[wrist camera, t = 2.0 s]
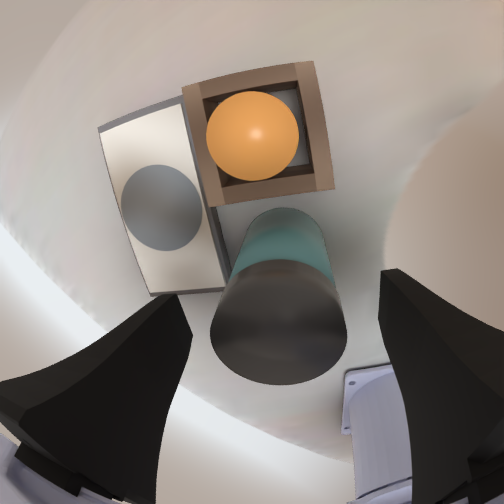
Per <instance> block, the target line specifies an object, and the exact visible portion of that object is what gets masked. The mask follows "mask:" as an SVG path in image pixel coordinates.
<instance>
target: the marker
mask: <svg viewBox="0 0 504 504" xmlns="http://www.w3.org/2000/svg"><path fill="white" fill-rule="evenodd" d="M210 338H211V343H212V347H213V349H214V351H215V353H216V355H217V356H218V358H219V359H220V360H221V361H222V362H223V363H224V364H225V365H226V366H227V367H228V368H229V369H231V370H232V371H233V372H235V373H236V374H238V375H240V376H242V377H244V378H246V379H249V380H252V381H255V382H259V383H263V384H269V385H292V384H298V383H302V382H306V381H309V380H312V379H314V378H316V377H318V376H320V375H322V374H324V373H325V372H327V371H328V370H329V369H331V368H332V367H333V366H334V365H335V364H336V363H337V362H338V360H339V359H340V357H341V356H342V354H343V352H344V350H345V347H346V343H347V329H346V324H345V320H344V315H343V311H342V306H341V302H340V298H339V294H338V292H337V290H336V287H335V282H334V278H333V274H332V270H331V266H330V262H329V258H328V254H327V250H326V246H325V243H324V239H323V235H322V232H321V230H320V228H319V226H318V225H317V223H316V222H315V221H314V220H313V219H312V218H311V217H310V216H309V215H307V214H305V213H304V212H302V211H299V210H296V209H292V208H276V209H272V210H269V211H266V212H264V213H262V214H261V215H260V216H258V217H257V218H256V219H255V220H254V221H253V222H252V223H251V225H250V227H249V228H248V231H247V233H246V236H245V238H244V241H243V244H242V246H241V249H240V252H239V255H238V257H237V260H236V263H235V265H234V268H233V271H232V273H231V276H230V279H229V282H228V284H227V285H226V287H225V289H224V291H223V294H222V296H221V299H220V302H219V304H218V307H217V310H216V312H215V315H214V318H213V320H212V324H211V328H210Z"/></svg>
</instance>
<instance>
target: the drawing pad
mask: <svg viewBox="0 0 504 504" xmlns="http://www.w3.org/2000/svg"><path fill="white" fill-rule="evenodd" d="M98 132H99V136H100V141H101V145H102V149H103V153H104V158H105V161H106V165H107V169H108V173H109V177H110V180H111V184H112V187H113V191H114V194H115V198H116V201H117V204H118V208H119V211H120V214H121V217H122V220H123V223H124V226H125V229H126V232H127V235H128V238H129V241H130V244H131V247H132V249H133V252H134V255H135V258H136V260H137V263H138V266H139V268H140V271H141V274H142V276H143V279H144V281H145V284H146V286H147V289H148V291H149V294H150V296H151V297H154V296H160V295H162V294H171V293H177V295H183V294H196V293H209V292H220V291H224V289H225V287H226V285H227V284H228V282H229V279H230V276H231V273H232V271H231V267H230V263H229V259H228V255H227V251H226V247H225V243H224V239H223V235H222V231H221V227H220V223H219V219H218V215H217V211H216V207H209V206H208V202H207V198H206V194H205V190H204V186H203V182H202V178H201V173H200V169H199V165H198V161H197V156H196V152H195V148H194V143H193V139H192V134H191V130H190V125H189V121H188V116H187V112H186V107H185V102H184V97H183V95H181V96H178V97H175V98H172V99H169V100H166V101H163V102H160V103H157V104H154V105H151V106H148V107H146V108H143V109H140V110H138V111H135V112H133V113H130V114H128V115H125V116H123V117H120V118H118V119H115V120H113V121H111V122H109V123H106V124H104V125H102V126H100V127H98Z"/></svg>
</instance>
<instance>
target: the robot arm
mask: <svg viewBox="0 0 504 504" xmlns="http://www.w3.org/2000/svg"><path fill="white" fill-rule="evenodd" d="M378 321H379V325H380V329H381V333H382V338H383V342H384V345H385V348H386V350H387V353H388V356H389V359H390V362H391V365H385V366H380V367H374V368H368V369H362V370H355V371H350V372H348V373H347V374H346V375H345V385H344V400H343V413H342V424H341V434H343V435H348V434H352V445H353V458H354V472H355V492H356V500H354V501H350V502H347V504H504V332H503V331H501V330H499V329H496V328H494V327H492V326H490V325H487V324H486V323H484V322H482V321H480V320H478V319H476V318H474V317H472V316H470V315H468V314H467V313H465V312H463V311H461V310H460V309H458V308H457V307H455V306H453V305H451V304H450V303H448V302H447V301H445V300H444V299H442V298H441V297H439V296H438V295H436V294H435V293H433V292H432V291H430V290H429V289H427V288H426V287H425V286H423V285H421V284H420V283H419V282H417V281H416V280H415V279H413V278H412V277H410V276H409V275H407V274H406V273H404V272H403V271H401V270H399V269H390V270H383V271H381V278H380V298H379V312H378ZM192 338H193V334H192V331H191V329H190V327H189V324H188V322H187V319H186V317H185V314H184V312H183V309H182V307H181V304H180V301H179V299H178V296H177V293H171V294H162V295H160V296H158V297H157V298H155V299H154V300H152V301H151V302H149V303H148V304H146V305H145V306H144V307H142V308H141V309H140V310H138V311H137V312H136V313H134V314H133V315H132V316H130V317H129V318H128V319H126V320H125V321H124V322H122V323H121V324H120V325H118V326H117V327H116V328H114V329H113V330H111V331H110V332H109V333H107V334H106V335H104V336H103V337H101V338H100V339H99V340H97V341H96V342H94V343H92V344H91V345H89V346H88V347H86V348H85V349H83V350H81V351H79V352H77V353H76V354H74V355H72V356H70V357H68V358H66V359H64V360H62V361H60V362H58V363H56V364H54V365H51V366H49V367H47V368H44V369H42V370H39V371H36V372H33V373H30V374H27V375H24V376H21V377H17V378H13V379H9V380H5V381H2V382H0V422H1V423H2V424H3V425H4V426H5V427H6V428H7V429H8V430H9V431H10V432H11V433H12V434H13V435H14V436H15V437H17V439H19V440H20V441H21V444H20V446H19V447H18V446H17V445H16V444H14V443H13V442H12V441H11V440H9V439H8V438H7V437H5V436H4V435H3V434H2V433H0V504H120V503H117V502H115V501H112V498H113V499H116V500H118V501H121V502H122V501H125V502H128V503H131V504H155V503H156V478H157V469H158V460H159V453H160V447H161V442H162V436H163V432H164V427H165V423H166V418H167V414H168V411H169V408H170V405H171V402H172V399H173V397H174V394H175V392H176V389H177V386H178V384H179V381H180V379H181V376H182V373H183V371H184V368H185V365H186V362H187V360H188V356H189V352H190V348H191V343H192Z"/></svg>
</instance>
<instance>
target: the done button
mask: <svg viewBox="0 0 504 504" xmlns="http://www.w3.org/2000/svg"><path fill="white" fill-rule="evenodd" d="M206 141H207V146H208V150H209V152H210V154H211V157H212V158H213V160H214V161H215V163H216V164H217V165H218V166H219V167H220V168H221V169H222V170H223V171H225V172H226V173H228V174H229V175H231V176H233V177H236V178H239V179H242V180H248V181H256V180H263V179H267V178H270V177H272V176H274V175H276V174H278V173H279V172H281V171H282V170H283V169H284V168H286V167H287V165H288V164H289V163H290V162H291V160H292V159H293V157H294V155H295V153H296V150H297V147H298V141H299V132H298V126H297V122H296V120H295V117H294V116H293V114H292V112H291V111H290V109H289V108H288V107H287V106H286V105H285V104H284V103H283V102H282V101H280V100H279V99H277V98H276V97H274V96H272V95H269V94H267V93H263V92H256V91H248V92H242V93H238V94H235V95H233V96H231V97H229V98H227V99H226V100H224V101H223V102H222V103H221V104H220V105H219V106H218V107H217V108H216V109H215V110H214V112H213V113H212V115H211V117H210V119H209V122H208V125H207V131H206Z"/></svg>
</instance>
